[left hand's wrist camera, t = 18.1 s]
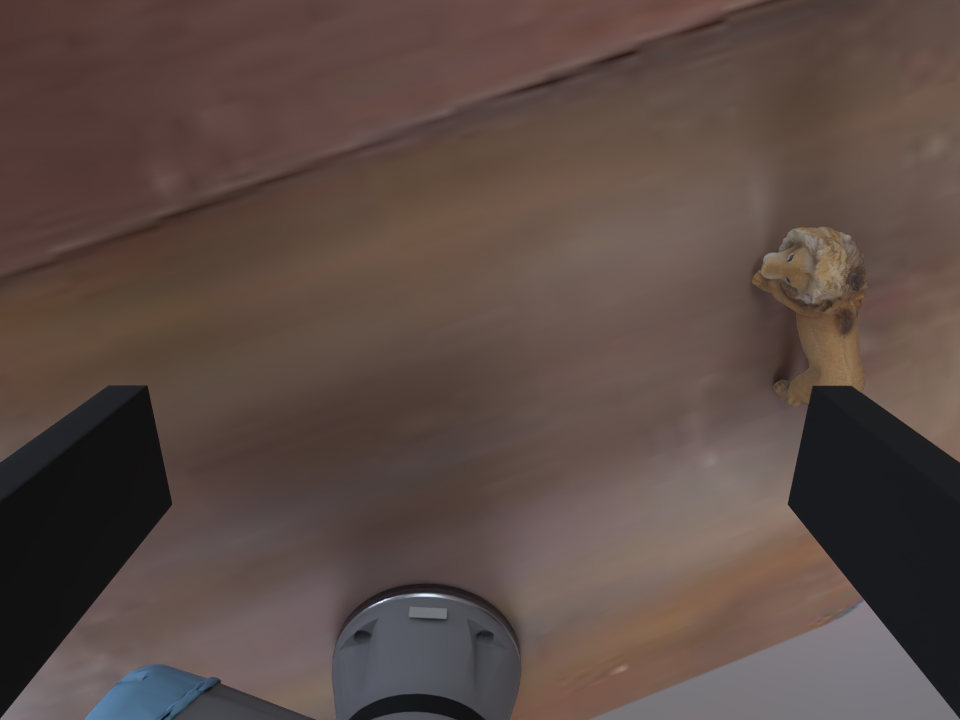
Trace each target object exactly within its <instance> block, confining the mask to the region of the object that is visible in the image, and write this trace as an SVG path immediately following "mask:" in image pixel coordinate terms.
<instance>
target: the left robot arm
mask: <svg viewBox="0 0 960 720" xmlns="http://www.w3.org/2000/svg"><path fill="white" fill-rule="evenodd" d="M171 505H172V501H171V496H170V491H169V486H168V482H167V477H166V472H165V467H164V462H163V458H162V453H161V448H160V443H159V439H158V434H157V429H156V424H155V419H154V415H153V410H152V405H151V400H150V395H149V391H148V386H107V387H106V388H105V389H103V390H102V391H100V392H99V393H98V394H96V395H95V396H93V397H92V398H91V399H89V400H88V401H86V402H85V403H84V404H82V405H81V406H79V407H78V408H76V409H75V410H74V411H72V412H71V413H69V414H68V415H67V416H65V417H64V418H62V419H61V420H60V421H58V422H57V423H55V424H54V425H53V426H51V427H50V428H48V429H47V430H46V431H44V432H43V433H41V434H40V435H39V436H37V437H36V438H34V439H33V440H32V441H30V442H29V443H27V444H26V445H25V446H23V447H22V448H20V449H19V450H17V451H16V452H15V453H13V454H12V455H10V456H9V457H8V458H6V459H5V460H3V461H2V462H1V463H0V718H1V717H2V716H3V715H4V713H5V712H6V711H7V710H8V708H9V707H10V706H11V705H12V703H13V702H14V701H15V700H16V698H17V697H18V696H19V695H20V693H21V692H22V691H23V690H24V688H25V687H26V686H27V685H28V683H29V682H30V681H31V680H32V678H33V677H34V676H35V675H36V673H37V672H38V671H39V670H40V668H41V667H42V666H43V665H44V663H45V662H46V661H47V660H48V658H49V657H50V656H51V655H52V653H53V652H54V651H55V650H56V649H57V647H58V646H59V645H60V644H61V642H62V641H63V640H64V639H65V637H66V636H67V635H68V634H69V632H70V631H71V630H72V629H73V627H74V626H75V625H76V624H77V622H78V621H79V620H80V619H81V617H82V616H83V615H84V614H85V612H86V611H87V610H88V609H89V607H90V606H91V605H92V604H93V602H94V601H95V600H96V599H97V597H98V596H99V595H100V594H101V592H102V591H103V590H104V589H105V588H106V586H107V585H108V584H109V583H110V581H111V580H112V579H113V578H114V576H115V575H116V574H117V573H118V571H119V570H120V569H121V568H122V566H123V565H124V564H125V563H126V561H127V560H128V559H129V558H130V556H131V555H132V554H133V553H134V551H135V550H136V549H137V548H138V546H139V545H140V544H141V543H142V541H143V540H144V539H145V538H146V536H147V535H148V534H149V533H150V531H151V530H152V529H153V528H154V526H155V525H156V524H157V523H158V522H159V520H160V519H161V518H162V517H163V515H164V514H165V513H166V512H167V510H168V509H169V508H170V507H171ZM788 505H789V507H790V508H791V509H792V510H793V512H794V513H795V514H796V515H797V517H798V518H799V519H800V520H801V522H802V523H803V524H804V525H805V526H806V528H807V529H808V530H809V531H810V533H811V534H812V535H813V536H814V538H815V539H816V540H817V541H818V543H819V544H820V545H821V546H822V548H823V549H824V550H825V551H826V553H827V554H828V555H829V556H830V558H831V559H832V560H833V561H834V563H835V564H836V565H837V566H838V568H839V569H840V570H841V571H842V573H843V574H844V575H845V576H846V578H847V579H848V580H849V581H850V583H851V584H852V585H853V586H854V588H855V589H856V590H857V591H858V592H859V594H860V595H861V596H862V597H863V599H864V600H865V601H866V602H867V604H868V605H869V606H870V607H871V609H872V610H873V611H874V612H875V614H876V615H877V616H878V617H879V619H880V620H881V621H882V622H883V624H884V625H885V626H886V627H887V629H888V630H889V631H890V632H891V634H892V635H893V636H894V637H895V638H896V640H897V641H898V642H899V643H900V645H901V646H902V647H903V648H904V650H905V651H906V652H907V653H908V655H909V656H910V657H911V658H912V660H913V661H914V662H915V663H916V665H917V666H918V667H919V668H920V670H921V671H922V672H923V673H924V675H925V676H926V677H927V678H928V680H929V681H930V682H931V683H932V685H933V686H934V687H935V688H936V690H937V691H938V692H939V693H940V695H941V696H942V697H943V698H944V700H945V701H946V702H947V703H948V705H949V706H950V707H951V708H952V709H953V711H954V712H955V713H956V714H957V716H958V717H959V718H960V463H959V462H958V461H957V460H955V459H954V458H952V457H951V456H950V455H948V454H947V453H945V452H944V451H943V450H941V449H940V448H938V447H937V446H935V445H934V444H933V443H931V442H930V441H928V440H927V439H926V438H924V437H923V436H921V435H920V434H919V433H917V432H916V431H914V430H913V429H912V428H910V427H909V426H907V425H906V424H905V423H903V422H902V421H900V420H899V419H898V418H896V417H895V416H893V415H892V414H891V413H889V412H888V411H886V410H885V409H884V408H882V407H881V406H879V405H878V404H876V403H875V402H874V401H872V400H871V399H869V398H868V397H867V396H865V395H864V394H862V393H861V392H860V391H858V390H857V389H855V388H854V387H853V386H812V391H811V395H810V400H809V405H808V410H807V415H806V419H805V424H804V429H803V434H802V439H801V443H800V448H799V453H798V458H797V462H796V467H795V472H794V477H793V482H792V486H791V491H790V496H789V501H788ZM520 677H521V660H520V649H519V643H518V640H517V637H516V634H515V632H514V630H513V628H512V627H511V625H510V623H509V622H508V621H507V619H506V618H505V617H504V616H503V615H502V614H501V613H500V612H499V611H498V610H497V609H496V608H495V607H494V606H492V605H491V604H490V603H488V602H487V601H485V600H484V599H482V598H480V597H478V596H476V595H474V594H472V593H470V592H467V591H464V590H461V589H458V588H454V587H450V586H445V585H437V584H414V585H406V586H401V587H396V588H393V589H390V590H387V591H384V592H382V593H379V594H377V595H375V596H373V597H371V598H370V599H368V600H367V601H365V602H364V603H362V604H361V605H360V606H358V607H357V608H356V609H355V610H354V611H353V612H352V613H351V615H350V616H349V617H348V618H347V620H346V621H345V623H344V624H343V626H342V628H341V630H340V633H339V636H338V639H337V642H336V646H335V650H334V654H333V662H332V683H333V692H334V701H335V710H336V719H337V720H510V716H511V713H512V710H513V707H514V704H515V700H516V697H517V694H518V690H519V685H520ZM84 720H315V719H312V718H309V717H307V716H304V715H302V714H299V713H296V712H294V711H291V710H289V709H286V708H283V707H281V706H278V705H275V704H273V703H270V702H268V701H265V700H262V699H260V698H257V697H255V696H252V695H249V694H247V693H244V692H241V691H239V690H236V689H234V688H231V687H228V686H226V685H223V684H221V680H220V679H218V678H216V677H211V678H208V679H207V678H204V677H201V676H198V675H195V674H191V673H188V672H185V671H182V670H179V669H175V668H172V667H169V666H166V665H160V664H153V665H147V666H144V667H141V668H139V669H137V670H135V671H133V672H131V673H130V674H128V675H127V676H125V677H124V678H122V679H121V680H120V681H119V682H118V683H117V684H116V685H115V686H114V687H113V688H112V689H111V690H110V691H109V692H108V693H107V694H106V695H105V696H104V697H103V698H102V699H101V700H100V702H99V703H98V704H97V705H96V706H95V707H94V708H93V710H92V711H91V712H90V713H89V714H88V715H87V717H86V718H85V719H84Z"/></svg>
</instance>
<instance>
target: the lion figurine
mask: <svg viewBox="0 0 960 720" xmlns="http://www.w3.org/2000/svg"><path fill="white" fill-rule="evenodd" d="M866 276H867V270H866V266H865V261H864V255H863V253H862V252H860V251H859V249H858V248H857V247H856V244H855V242H854V241H853V240H852V238H851V236H850V235H845V234H844V233H843V232H838V231H836V230H834V229H832V228H830V227H819V228H811V227H810V228H804V227H799V228H796V229H793V230H791V231H790V232H789V233H788V234H787V237H786V238H784V239H783V242H782V244H781V246H780V248H779V251H776V252H773V253H769V254H767V255H766V256H765V257H764V259H763V265H762V267H761V270H759V271H758V272H757V273H756V274H755V275H754V277H753V280H752V283H753V284H754V285H755V286H757V287H758V288H760V289H761V290H763V291H765V292H768V293H771V294H772V295H773V296H774V297H775V298H776V299H777V300H778V301H779V302H781V303H783V304H784V305H785V306H787V307H789V308H790V309H792V310H793V311H795V312H796V320H797V328H798V332H799V338H800V342H801V345H802V348H803V350H804V353H805V355H806V356H807V358H808V361H809V368H808V369H807V370H806V371H804V372H803V373H801V374H799V375H798V376H796V377H795V378H794V379H793V380H792V382H791V383H790V382H789V381H787V380H783V379H782V380H780V381H778V382H776V383H775V385H774V388H773V389H774V392H775V393H776V395H777V396H779V397H780V398H781V399H782V400H784V401H785V402H787V403H788V404H789V405H791V406H794V407H798V406H800V405H801V403H806V404H808V405H809V400H810V395H811V391H812V386H853V387H854V388H855V389H857V390H858V391H860V392H861V393H862V392H863V388H864V385H865V373H864V370H863V367H862V363H861V359H860V351H859V329H858V318H857V315H858V312H857V310H858V309H859V308H860V307H861V306H862V304H861V300H862V299H864V298H865V296H866V294H865V289H866V288H867V287H868V284H867V278H866Z"/></svg>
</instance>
